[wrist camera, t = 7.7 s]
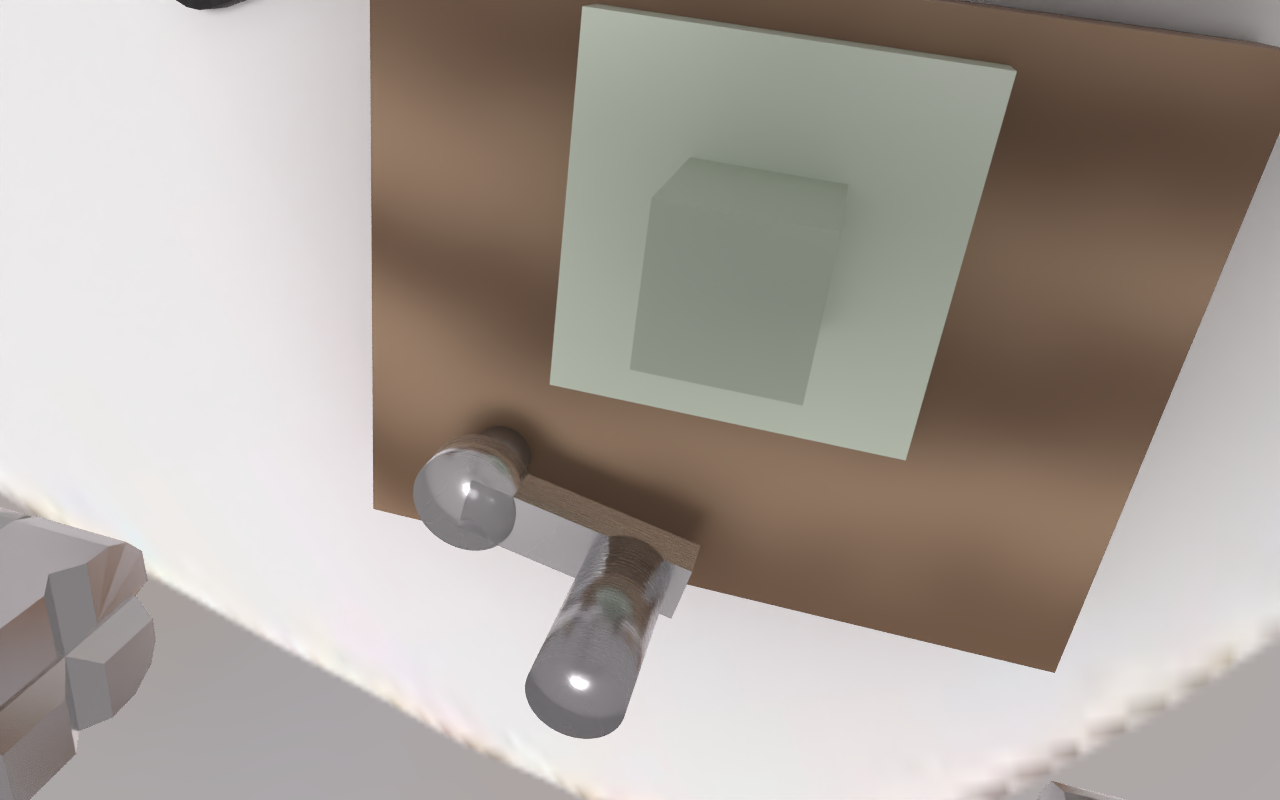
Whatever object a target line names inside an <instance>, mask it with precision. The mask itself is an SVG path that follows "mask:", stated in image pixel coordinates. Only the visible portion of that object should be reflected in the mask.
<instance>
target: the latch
mask: <svg viewBox="0 0 1280 800" xmlns="http://www.w3.org/2000/svg"><path fill="white" fill-rule="evenodd" d="M413 498H414V503H415V507H416V510H417V512H418V514H419V516H420V518H421V520H422V521H423V523H424V524H425V525H426V526H427V528H428V529H429V530H430V531H431V532H432V533H433V534H434V535H436V536H437V537H438V538H440V539H441V540H443V541H444V542H446V543H448V544H450V545H452V546H455V547H458V548H461V549H465V550H486V549H490V548H493V547H495V546H497V545H499V546H501V547H503V548H506V549H508V550H510V551H513V552H515V553H517V554H520V555H522V556H525V557H527V558H529V559H532V560H534V561H536V562H539V563H541V564H543V565H546V566H548V567H551V568H553V569H555V570H558V571H560V572H562V573H565V574H567V575H569V576H572V577H574V578H575V580H574V582H573V584H572V586H571V588H570V590H569V593H568V595H567V597H566V599H565V601H564V603H563V605H562V607H561V609H560V611H559V613H558V615H557V617H556V619H555V621H554V623H553V625H552V627H551V629H550V631H549V633H548V635H547V638H546V640H545V642H544V644H543V646H542V648H541V650H540V652H539V654H538V656H537V658H536V660H535V662H534V664H533V666H532V668H531V670H530V672H529V674H528V677H527V679H526V684H525V693H526V697H527V700H528V703H529V705H530V707H531V709H532V710H533V712H534V713H535V714H536V715H537V717H538V718H539V719H540V720H541V721H543V722H544V723H545V724H546V725H548V726H549V727H550V728H552V729H554V730H555V731H558V732H560V733H562V734H565V735H567V736H571V737H575V738H583V739H592V738H599V737H602V736H605V735H607V734H609V733H611V732H613V731H614V730H615V729H616V728H618V726H619V725H620V724H621V722H622V720H623V718H624V716H625V713H626V710H627V707H628V704H629V701H630V698H631V695H632V692H633V689H634V686H635V683H636V680H637V677H638V674H639V671H640V668H641V665H642V662H643V659H644V656H645V653H646V650H647V647H648V644H649V641H650V638H651V635H652V632H653V629H654V626H655V623H656V620H657V617H658V614H662V615H664V616H666V617H669V618H672V616H673V613H674V611H675V609H676V607H677V605H678V602H679V600H680V598H681V596H682V594H683V591H684V589H685V587H686V585H687V582H688V580H689V578H690V576H691V574H692V571H693V568H694V565H695V561H696V558H697V555H698V551H699V548H700V545H698V544H696V543H693V542H691V541H688V540H686V539H684V538H681V537H679V536H676V535H674V534H672V533H669V532H667V531H664V530H662V529H660V528H657V527H655V526H652V525H650V524H648V523H645V522H643V521H640V520H638V519H636V518H633V517H631V516H628V515H626V514H624V513H621V512H619V511H616V510H614V509H612V508H609V507H607V506H604V505H602V504H600V503H597V502H595V501H592V500H590V499H588V498H585V497H583V496H580V495H578V494H576V493H573V492H571V491H568V490H566V489H564V488H561V487H559V486H557V485H554V484H552V483H549V482H547V481H545V480H542V479H540V478H537V477H535V476H533V475H530V474H528V471H527V469H526V467H525V465H524V464H523V462H522V460H521V459H520V458H519V457H518V455H517V454H516V453H515V452H514V451H513V450H511V449H510V448H509V447H508V446H506V445H505V444H503V443H502V442H500V441H498V440H496V439H493V438H491V437H488V436H484V435H477V434H467V435H461V436H457V437H455V438H453V439H450V440H449V441H447V442H446V443H445V444H444V445H443V446H442V447H441V448H440V449H439V450H438V451H437V452H436V453H435V454H434V456H433V457H432V458H431V459H430V460H429V461H428V462H427V463H426V465H425V466H424V467H423V468H422V469H421V470H420V472H419V473H418V475H417V477H416V480H415V482H414V488H413Z"/></svg>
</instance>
